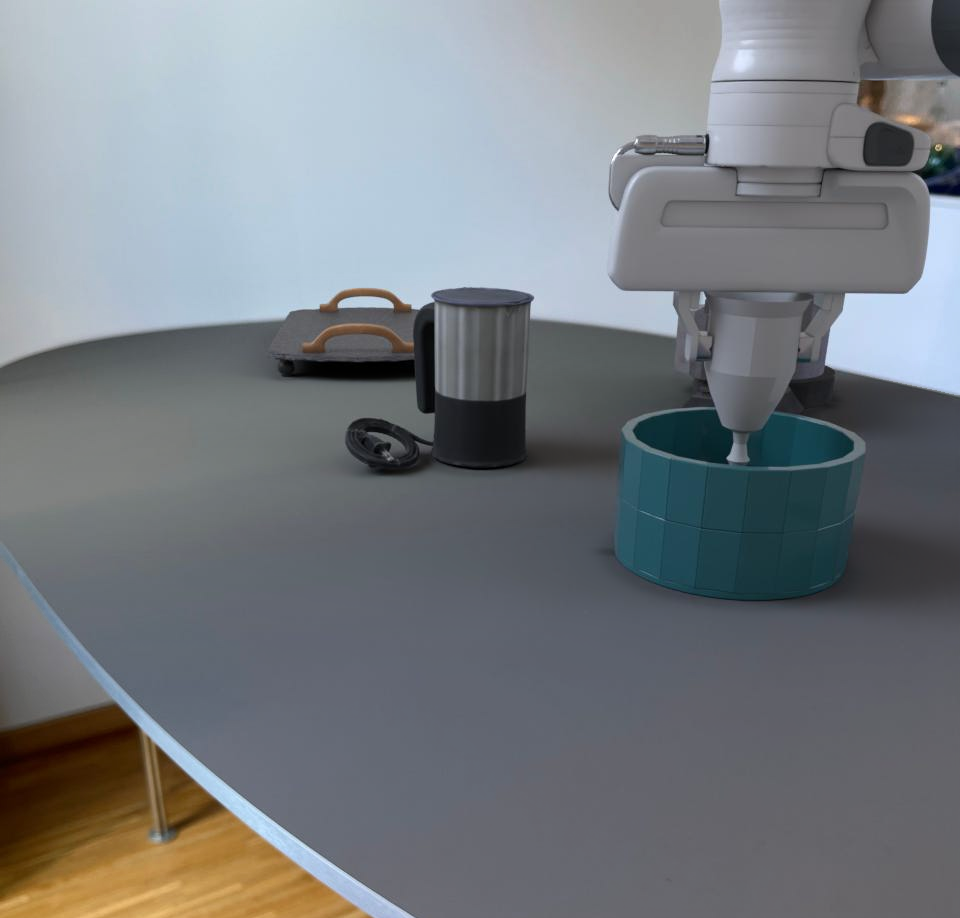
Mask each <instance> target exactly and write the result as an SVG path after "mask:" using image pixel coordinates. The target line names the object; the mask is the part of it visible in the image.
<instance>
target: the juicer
mask: <svg viewBox="0 0 960 918" xmlns="http://www.w3.org/2000/svg"><path fill="white" fill-rule="evenodd" d="M807 294H810V295H812V296H814V294H815V293H807ZM813 302H814V297H813V299H812V300H811V302H810V303H809V305H808V306H807V308H806V310H805V311H804V313H803V318H802V325H801V332H805V330H806V329H807V327H808V326H809V324H810V323H811V321H812V320H813V318H814V317H815V315H816V314H817V312H818V311H819V309H820V308H818V307H816V306H815V305H814V304H813ZM709 310H710V308H709V305H708V302H707V300H706V298H705V299H704V303H699V308H698V309H691V308H690V311H691V313H692V316H693V318H694V320H695V322H696V325H697V327H698V329H699V331H707V330H708V320H709ZM676 328H677V329H676V336H675V337H676V339H675V348H674V349H675V350H674V361H673V371H675V372H679V373H684V374H688V376H691V377H693V384H692V391H693V393H694V394H693V395H692V396H691V397H690V398H689V399H688V400H687V401H686V402H685V404H683V406H682V407H681V408H694V407H715V404H714V401H713V399H712V396H711V393H710V390H709V385H708V381H707V376H706V372H705V367H704V361H695V362H693V361H687V360H686V358H685V344H686V333H687V332H686V331H685V330H684V328H683V325H682V323H681V321H680V319H679V317H678V316H677V326H676ZM830 335H831V328H830V329H829V330H828V331H827V333H826V334H825V335H824V337H821V344H820V351H819V357H818V360H817V362H816V363H802V362H796V368H795V372H794V374H793V376H792V378H791V380H790V382H789V384H788V387H787V389H786V391H785V393H784V395H783V397H782V399H781V400H780V402H779V403H778V405H777V406H776V408H775V409H774V411H777V412H783V413H789V414H796V415H801V413H802V412H803V411H804V410H805V409H811V408H817V407H820V406H821V407H822V406H824V405H827V404H829V403H830V402H831V400H832V398H833V391H834V385H835V378H836V370H835V369H833V368H832V367H830V366H828V365H826V360H827V353H828V346H829V340H830Z"/></svg>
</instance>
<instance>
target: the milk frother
mask: <svg viewBox="0 0 960 918" xmlns="http://www.w3.org/2000/svg"><path fill="white" fill-rule="evenodd" d="M430 297H431V298H432V299H433V301H431V302H429V303H426V304H424V305H423V306H421V308H420V309H418V310H419V311H418V313H417V315H416V318H415V321H414V327H413V340H414V360H413V362H414V376H415V377H414V378H415V395H416V407H417V409H418V411H419V412H420V413H422V414H425V415H427V414H434V422H433V423H434V424H433V425H434V427H433V428H434V429H433V439H432V440H433V441H429V440H426V439H423V438H422V437H420V436H418V435H416V434H415V433H413V432H411V431H409V430H408V429H406V428H404V427H402V426H400V425H398V424H394V423H393V422H391V421H388V420H385V419H382V418H376V417H360V418H357V419H355V420H353V421H352V422H351V423H350V424H349V425H348V427H347V429H346V431H345V436H344V443H345V446H346V448H347V451H348V452H349V453H350V454H351V456H353V457H354V458H355V459H357V460H358V461H359V462H362V463H363V464H365V465H368V467H369V468H371V469H375V468H380V469H385V470H395V469H397V470H398V469H404V468H408V467H411V466H412V465H415V464H416V463H417V461H418V460H419V456H420V447H419V445H418V444H417V443H419V444H422V445H426V446H430V447H431V450H430V454H431V456H432V457H433V458H434V459H436V460H438V461H440V462H443V463H445V464H448V465H452V466H458V467H468V468H482V469H483V468H484V469H485V468H498V467H507V466H511V465H516V464H518V463H520V462H523V461H524V460H526V458H527V457H528V453H529V452H528V449H527V448H526V446H527V445H526V443H527V441H526V439H527V438H526V434H527V433H526V429H527V428H526V422H527V421H526V420H527V419H526V418H527V416H526V414H527V413H526V412H527V388H528V376H529V375H528V372H529V371H528V370H529V349H530V331H531V330H530V329H531V307H532V302H533V301H534V300H535V296H534V295H532V293H529V292H524V291H520V290H514V289H509V288H508V289H506V288H500V287H499V288H498V287H494V288H493V287H483V286H482V287H480V286H479V287H472V286H469V287H467V286H463V287H457V288H456V287H455V288H444V289H439V290H436V291H434V292H432V293H430ZM369 433H376V434H382V435H386V436H389V437H391V438H393V439H395V440H396V441H398V442H399V443H400V444H401V445H402V446H403V447H404V449H405V452H404V453H403V454H400V455H397V456H392V455H391V452H390V451H391V448H392V443H391V442H390V441H384V440H382V439H381V438H380V437H378V436H376V435H373V434H369Z"/></svg>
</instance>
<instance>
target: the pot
mask: <svg viewBox="0 0 960 918" xmlns="http://www.w3.org/2000/svg"><path fill="white" fill-rule="evenodd" d="M619 441H620V443H619V458H618V470H617V485H616V499H615V515H614V528H613V543H614V544H613V549H614V554H615V556H616V558H617V560H618V561H619V563H620V564H621V565H622V566H624V567H625V568H626V569H627V570H628V571H629V572H632V573H633V574H635V575H636V576H638V577H640V578H642V579H644V580H646V581H648V582H651V583H654V584H656V585H659V586H662V587H665V588H669V589H672V590H675V591H678V592H683V593H686V594H687V593H688V594H692V595H698V596H703V597H709V598H718V599H727V600H739V601H740V600H741V601H771V600H773V601H774V600H785V599H792V598H793V599H794V598H799V597H803V596H808V595H812V594H816V593H819V592H821V591H824V590H826V589H828V588H830V587H832V586H833V585H835V584H836V583H838V581H840V580H841V578H842V577H843V575H844V574H845V570H846V567H847V562H848V557H849V550H850V545H851V538H852V535H853V534H852V533H853V527H854V523H855V515H856V510H857V504H858V498H859V493H860V487H861V482H862V475H863V470H864V465H865V459H866V454H867V453H866V452H867V449H866V448H867V447H866V446H867V444H866V441H865V440H864V439H862V438H861V437H860V436H859V435H858V434H856V432H854V431H852V430H849V429H846V428H844V427H841V426H840V425H837V424H834V423H832V422H829V421H827V420H826V421H825V420H822V419H818V418H814V417H810V416H805V415H802V414H799V415H796V414H789V413H783V412H777V411H773V413H772V414H771V416H770V417H769V419H768V420H767V422H766V423H765V425H764V426H763V428H762V429H760V430H758V431H755V432H751V433H750V434H749V437H748V440H747V443H746V444H747V456H748V457H749V459H750V461H749V462H748V463H747V464H746V466H738V465H729V462H728V460H727V457H728V456H729V454H730V453H731V450H732V447H733V443H734V439H733V431H731V430H729V429H727V428H726V427H724V426H723V425H722V424H721V421H720V418H719V415H718V413H717V410H716V407H694V408H682V407H681V408H671V409H670V408H669V409H664V410H659V411H653V412H648V413H643V414H642V415H639V416H637V417H634V418H631V419H629V420H628V421H627V422H626V423H625V425H624V426H623V427H622V429H621V430H620V440H619Z"/></svg>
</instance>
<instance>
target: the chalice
mask: <svg viewBox="0 0 960 918" xmlns="http://www.w3.org/2000/svg"><path fill="white" fill-rule="evenodd" d="M703 294H704V297H705V299H706V300H707V302H708V305H709V308H710V310H709V320H708V330H707V331H708V333H709V334H711V335H712V336H713V340H712V346H711V348H710V349H709V350H710V351H711V358H710V361H704V367H705V372H706V376H707V381H708V385H709V390H710V393H711V396H712V399H713V401H714V404H715V407H716V410H717V413H718V415H719V418H720V421H721V424H722V425H723V426H724V427H726V428H727V429H729V430H731V431H733V439H734V443H733V447H732V450H731V453H730V454H729V456H728V457H727V460H728V462H729V465H738V466H746V464H747V463H748V462H749V461H750V459H749V457H748V456H747V444H746V443H747V440H748V437H749V434H750V433H751V432H755V431H758V430H760V429H762V428H763V426H764V425H765V423H766V422H767V420H768V419H769V417H770V416H771V414H772V413H773V411H774V409H775V408H776V406H777V405H778V403H779V402H780V400H781V399H782V397H783V395H784V393H785V391H786V389H787V387H788V384H789V382H790V380H791V378H792V376H793V374H794V372H795V368H796V361H797V353H798V346H799V339H800V332H801V325H802V318H803V313H804V311H805V310H806V308H807V306H808V305H809V303H810V302H811V300H812V299H813V297H814V296H812V295H810V294H807V293H772V292H703Z"/></svg>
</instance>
